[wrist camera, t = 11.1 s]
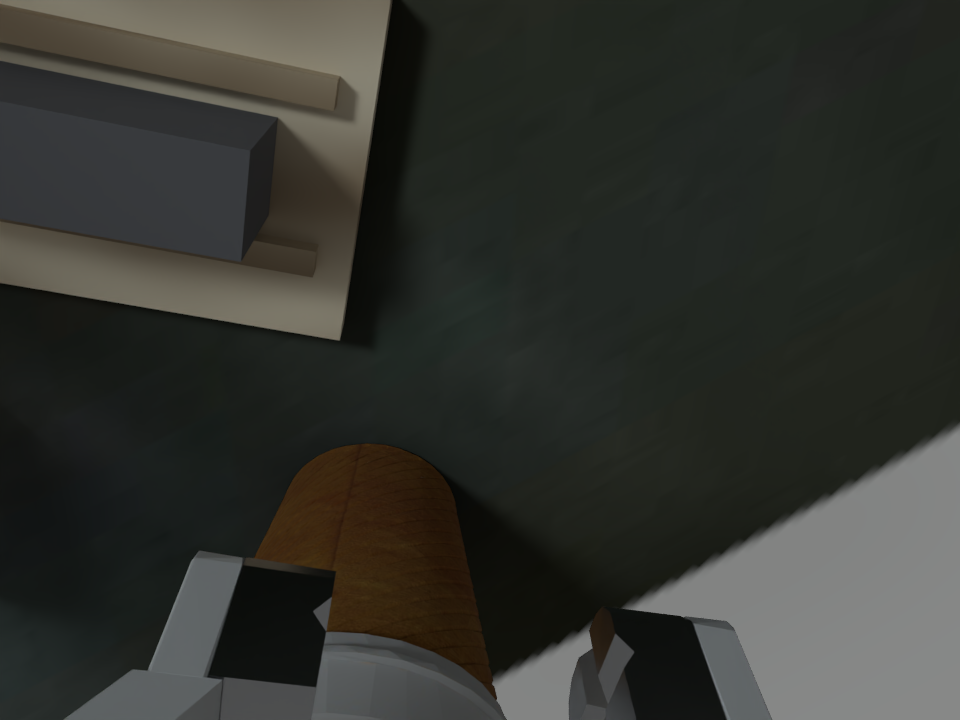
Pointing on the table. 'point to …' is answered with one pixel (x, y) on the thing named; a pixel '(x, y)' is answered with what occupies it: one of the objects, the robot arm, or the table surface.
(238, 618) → the robot arm
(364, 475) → the disposable coffee cup
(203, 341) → the table surface
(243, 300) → the board
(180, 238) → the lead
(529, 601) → the table surface
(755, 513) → the table surface
